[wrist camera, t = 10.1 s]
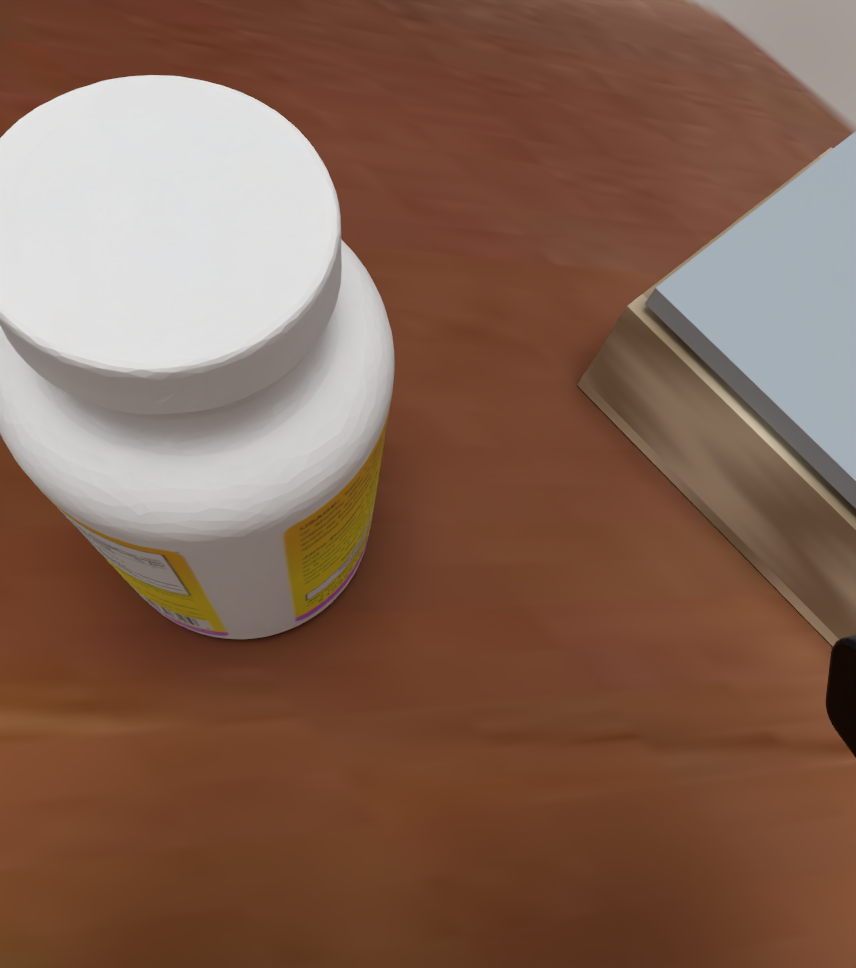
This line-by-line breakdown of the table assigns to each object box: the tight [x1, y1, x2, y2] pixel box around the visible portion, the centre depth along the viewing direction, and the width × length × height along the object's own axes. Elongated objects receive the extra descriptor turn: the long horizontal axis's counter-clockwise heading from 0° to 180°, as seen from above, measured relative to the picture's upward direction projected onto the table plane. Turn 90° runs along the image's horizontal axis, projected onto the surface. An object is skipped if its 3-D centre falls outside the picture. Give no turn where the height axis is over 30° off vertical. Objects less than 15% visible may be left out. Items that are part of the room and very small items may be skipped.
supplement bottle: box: [0, 75, 394, 639], centre depth 16 cm, size 7×7×13 cm
